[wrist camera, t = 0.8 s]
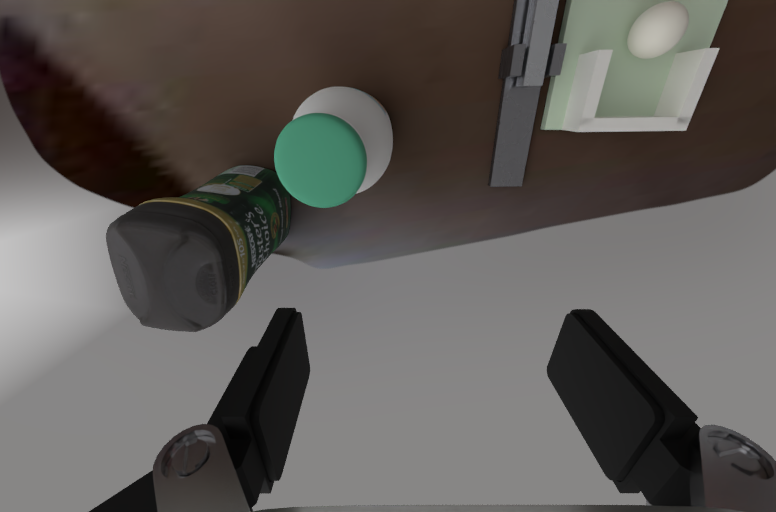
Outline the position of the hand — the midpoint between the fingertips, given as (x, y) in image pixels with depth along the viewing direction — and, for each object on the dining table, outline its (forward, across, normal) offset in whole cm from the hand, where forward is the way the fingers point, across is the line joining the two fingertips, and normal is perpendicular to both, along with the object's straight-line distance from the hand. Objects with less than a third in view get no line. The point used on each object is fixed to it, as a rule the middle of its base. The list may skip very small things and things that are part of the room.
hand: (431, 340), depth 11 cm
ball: (+24, -22, -13) cm, 35 cm away
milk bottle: (+27, +5, -4) cm, 28 cm away
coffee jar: (+27, +17, +4) cm, 32 cm away
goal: (+26, -22, -8) cm, 35 cm away
